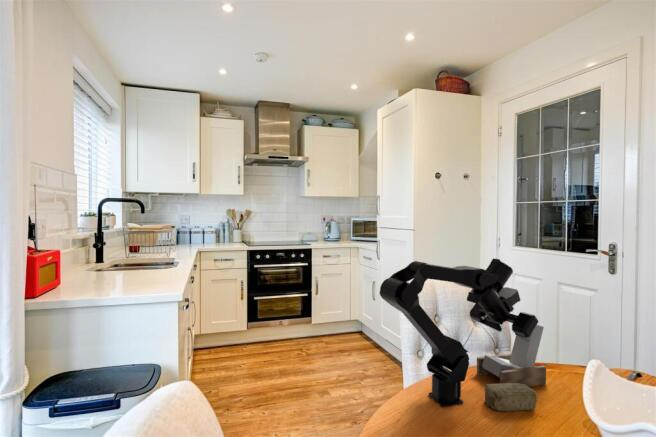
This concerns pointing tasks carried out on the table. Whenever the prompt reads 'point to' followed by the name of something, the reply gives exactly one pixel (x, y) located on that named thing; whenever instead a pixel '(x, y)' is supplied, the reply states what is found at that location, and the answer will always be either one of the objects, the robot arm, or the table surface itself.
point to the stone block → (510, 397)
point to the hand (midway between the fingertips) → (514, 335)
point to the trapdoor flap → (497, 365)
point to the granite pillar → (526, 349)
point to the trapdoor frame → (517, 373)
